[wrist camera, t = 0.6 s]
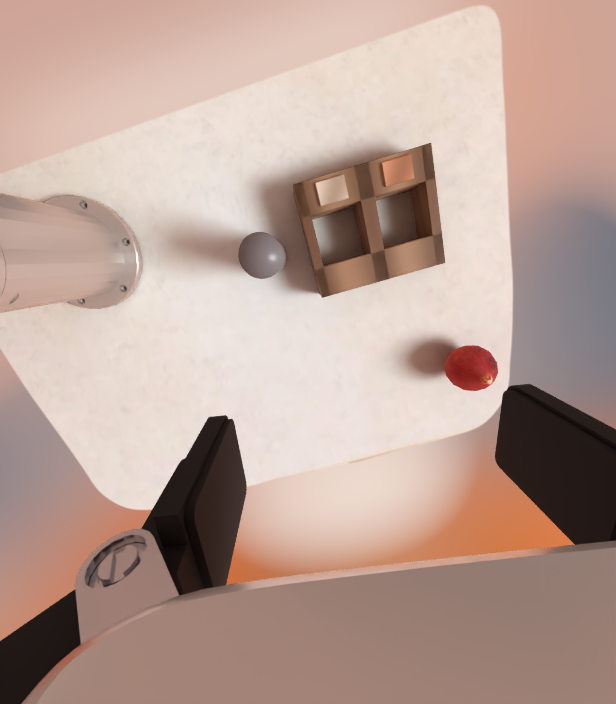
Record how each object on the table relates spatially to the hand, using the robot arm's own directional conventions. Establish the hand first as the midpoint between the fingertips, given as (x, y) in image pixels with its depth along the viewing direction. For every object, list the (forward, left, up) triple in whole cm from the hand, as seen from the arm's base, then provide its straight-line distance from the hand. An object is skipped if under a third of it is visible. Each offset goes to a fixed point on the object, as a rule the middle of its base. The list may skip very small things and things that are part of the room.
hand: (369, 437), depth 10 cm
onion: (+17, -12, -29) cm, 36 cm away
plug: (-4, +8, -29) cm, 30 cm away
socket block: (+8, +8, -29) cm, 31 cm away
